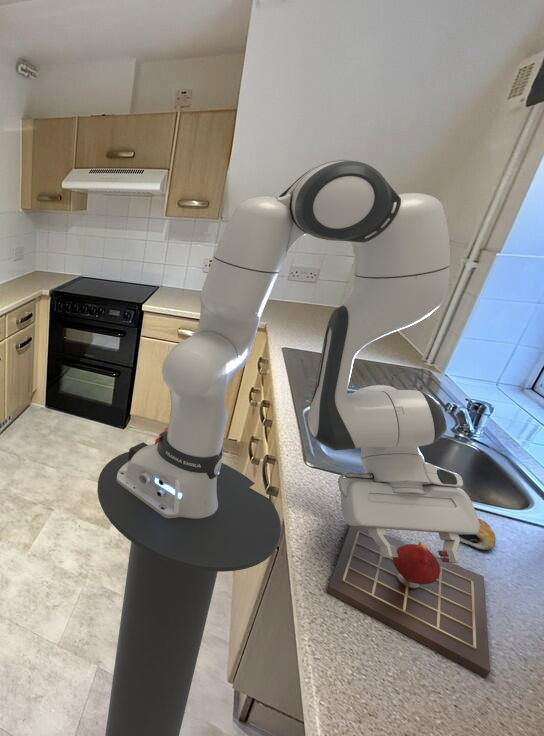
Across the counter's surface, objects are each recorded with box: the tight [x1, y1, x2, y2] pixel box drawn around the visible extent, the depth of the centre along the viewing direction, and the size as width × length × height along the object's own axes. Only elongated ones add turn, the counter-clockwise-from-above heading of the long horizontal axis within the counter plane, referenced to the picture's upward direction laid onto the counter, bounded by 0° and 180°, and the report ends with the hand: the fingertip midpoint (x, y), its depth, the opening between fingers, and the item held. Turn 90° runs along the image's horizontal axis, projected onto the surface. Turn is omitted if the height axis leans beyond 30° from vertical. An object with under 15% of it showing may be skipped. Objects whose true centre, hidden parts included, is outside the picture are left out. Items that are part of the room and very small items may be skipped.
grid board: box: [326, 526, 491, 679], centre depth 71 cm, size 19×22×2 cm
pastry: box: [458, 517, 497, 551], centre depth 83 cm, size 9×7×4 cm
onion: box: [393, 541, 440, 584], centre depth 70 cm, size 6×6×8 cm
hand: (420, 560), depth 69 cm, fingers open, 8 cm apart
